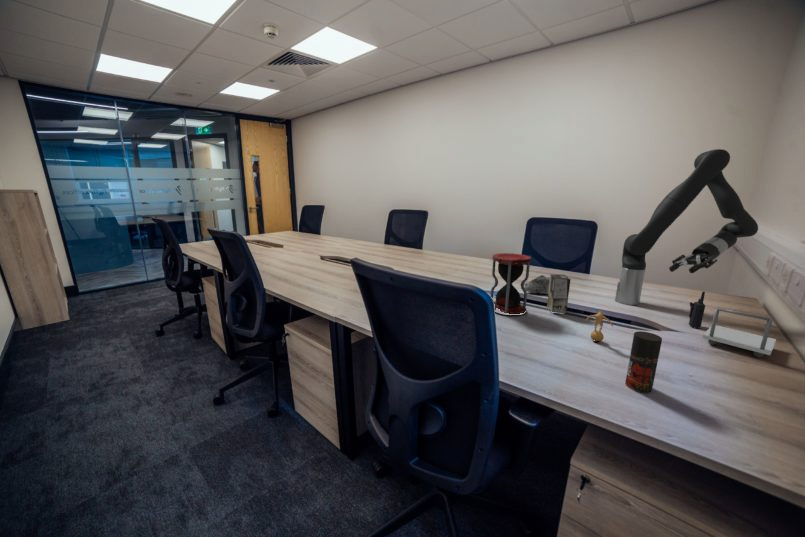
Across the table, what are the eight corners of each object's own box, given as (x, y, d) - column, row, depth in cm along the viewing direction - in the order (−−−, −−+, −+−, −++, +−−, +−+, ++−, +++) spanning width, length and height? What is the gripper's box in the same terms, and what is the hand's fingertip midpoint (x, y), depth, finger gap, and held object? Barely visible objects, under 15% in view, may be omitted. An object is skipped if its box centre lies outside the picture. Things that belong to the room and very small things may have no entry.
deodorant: (620, 381, 91) (628, 331, 87) (639, 380, 91) (649, 331, 88) (636, 393, 85) (646, 341, 82) (657, 392, 85) (668, 340, 82)
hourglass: (486, 313, 142) (490, 258, 137) (491, 302, 157) (494, 252, 151) (525, 318, 136) (530, 261, 131) (526, 306, 151) (531, 254, 145)
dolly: (701, 344, 114) (709, 306, 111) (710, 333, 123) (718, 298, 119) (768, 362, 101) (780, 320, 98) (773, 349, 110) (784, 310, 107)
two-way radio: (701, 329, 126) (709, 293, 123) (686, 327, 128) (694, 291, 125) (698, 325, 130) (706, 289, 127) (683, 322, 133) (691, 287, 129)
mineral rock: (522, 293, 172) (524, 275, 170) (528, 288, 181) (529, 271, 178) (548, 297, 165) (550, 278, 163) (552, 292, 173) (554, 274, 171)
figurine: (610, 342, 115) (615, 310, 112) (608, 348, 110) (614, 315, 107) (584, 336, 119) (588, 305, 117) (581, 342, 115) (586, 310, 112)
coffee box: (566, 315, 141) (571, 279, 137) (551, 313, 142) (555, 278, 139) (561, 308, 150) (565, 274, 146) (546, 307, 151) (550, 273, 147)
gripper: (689, 242, 142) (660, 262, 141) (725, 242, 128) (693, 264, 127) (696, 256, 143) (668, 276, 142) (732, 257, 129) (701, 279, 128)
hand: (680, 270), depth 135 cm, fingers open, 8 cm apart
